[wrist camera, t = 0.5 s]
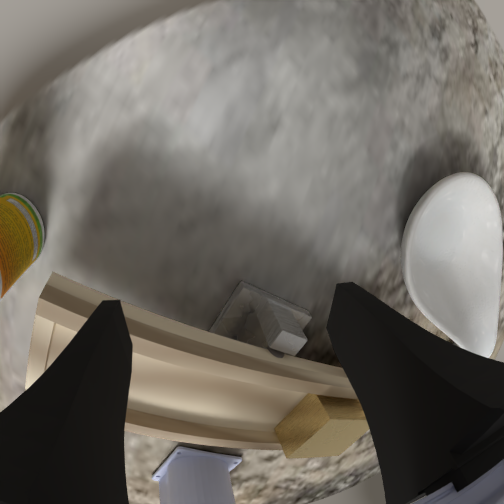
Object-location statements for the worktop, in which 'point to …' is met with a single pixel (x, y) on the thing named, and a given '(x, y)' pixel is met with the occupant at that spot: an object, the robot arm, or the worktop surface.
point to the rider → (321, 426)
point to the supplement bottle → (18, 238)
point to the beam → (187, 373)
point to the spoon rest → (456, 260)
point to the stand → (262, 320)
